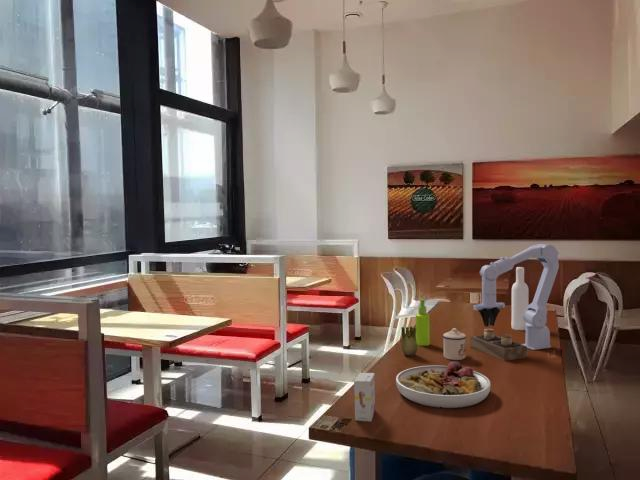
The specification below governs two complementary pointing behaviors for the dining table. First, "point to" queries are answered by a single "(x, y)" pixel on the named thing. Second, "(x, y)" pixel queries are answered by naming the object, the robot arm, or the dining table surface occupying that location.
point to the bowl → (443, 385)
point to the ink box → (364, 396)
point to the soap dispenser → (422, 325)
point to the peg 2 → (506, 339)
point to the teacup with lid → (454, 345)
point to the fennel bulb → (409, 341)
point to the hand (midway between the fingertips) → (489, 325)
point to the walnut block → (498, 348)
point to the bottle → (519, 300)
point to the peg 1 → (488, 333)
